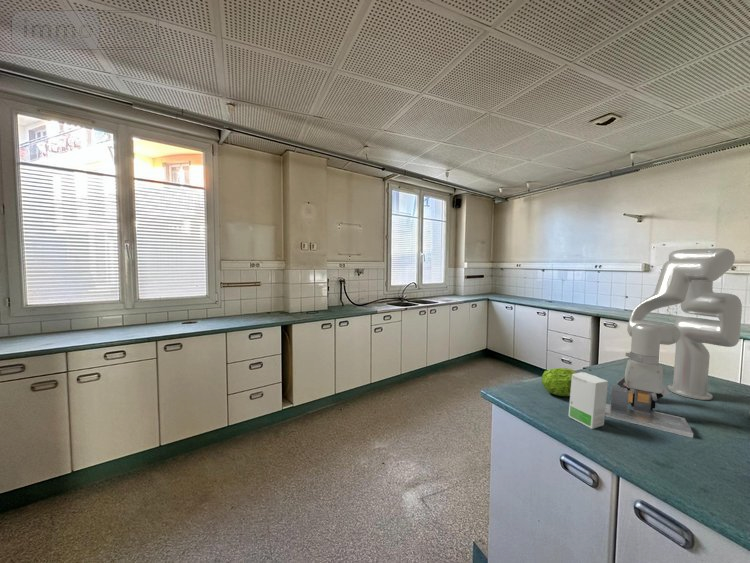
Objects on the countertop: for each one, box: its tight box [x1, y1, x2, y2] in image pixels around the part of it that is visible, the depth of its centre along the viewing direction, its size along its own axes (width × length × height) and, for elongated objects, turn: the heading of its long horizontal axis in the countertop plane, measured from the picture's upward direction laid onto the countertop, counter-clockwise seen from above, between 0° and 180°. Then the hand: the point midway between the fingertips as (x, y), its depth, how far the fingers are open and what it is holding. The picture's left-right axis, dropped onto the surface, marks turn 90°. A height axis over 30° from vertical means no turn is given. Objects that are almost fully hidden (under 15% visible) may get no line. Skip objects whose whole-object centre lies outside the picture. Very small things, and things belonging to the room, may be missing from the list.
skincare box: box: [568, 371, 609, 430], centre depth 99 cm, size 8×7×16 cm
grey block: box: [632, 389, 652, 414], centre depth 106 cm, size 6×4×8 cm
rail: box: [605, 384, 694, 439], centre depth 99 cm, size 8×22×10 cm, turn 54°
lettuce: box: [541, 367, 578, 397], centre depth 123 cm, size 12×24×13 cm
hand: (641, 406), depth 106 cm, fingers closed on grey block, 4 cm apart
